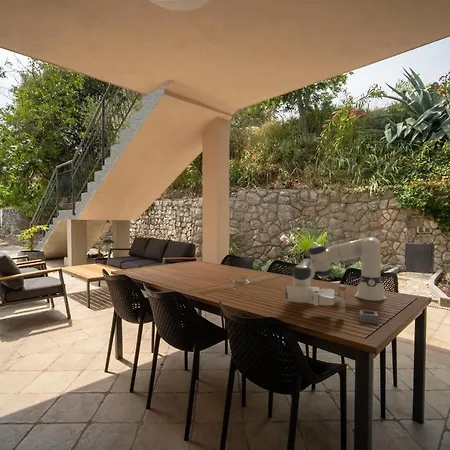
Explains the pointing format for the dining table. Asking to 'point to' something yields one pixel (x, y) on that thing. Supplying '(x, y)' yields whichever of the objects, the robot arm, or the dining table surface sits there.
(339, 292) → the dowel
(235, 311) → the dining table surface
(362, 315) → the square socket block
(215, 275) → the dining table surface
